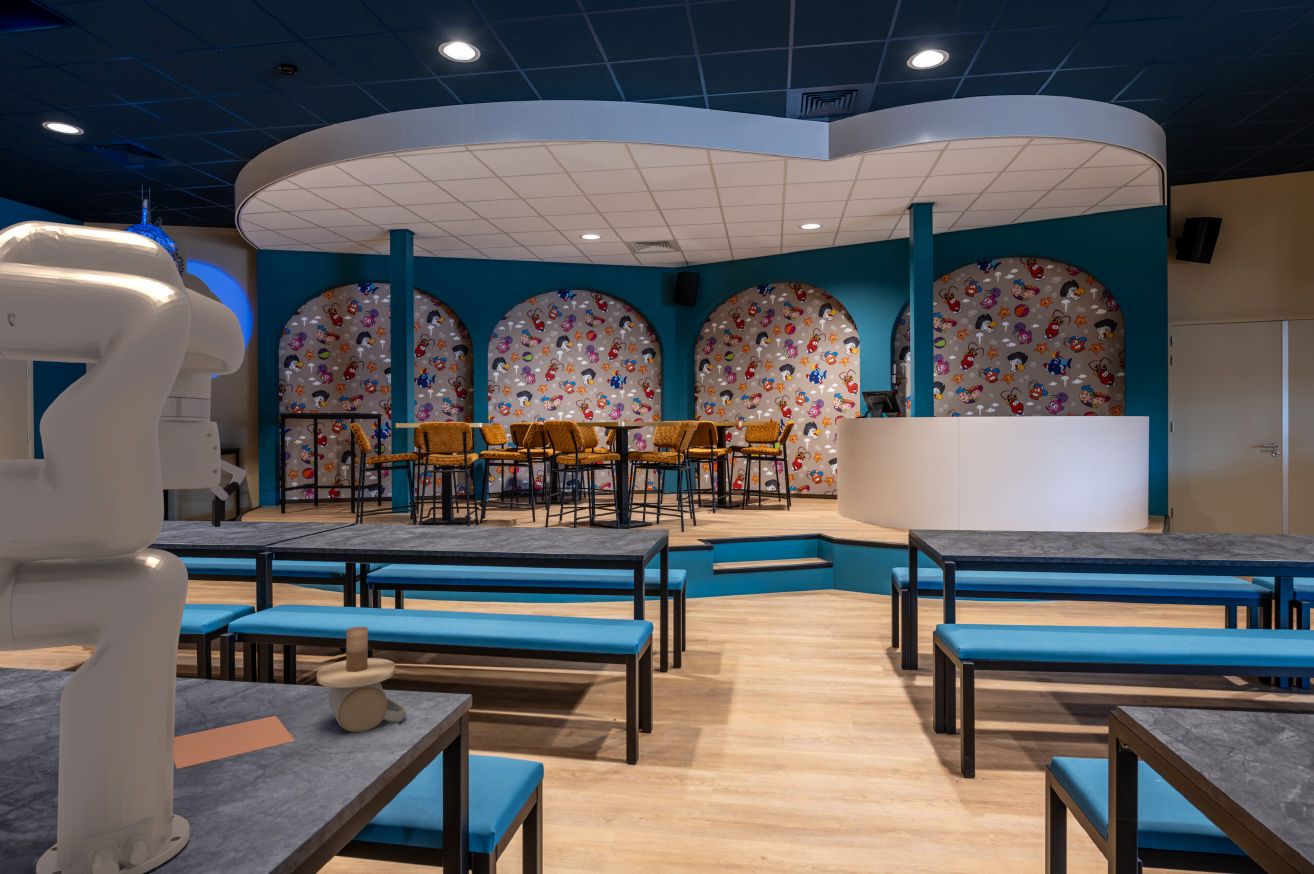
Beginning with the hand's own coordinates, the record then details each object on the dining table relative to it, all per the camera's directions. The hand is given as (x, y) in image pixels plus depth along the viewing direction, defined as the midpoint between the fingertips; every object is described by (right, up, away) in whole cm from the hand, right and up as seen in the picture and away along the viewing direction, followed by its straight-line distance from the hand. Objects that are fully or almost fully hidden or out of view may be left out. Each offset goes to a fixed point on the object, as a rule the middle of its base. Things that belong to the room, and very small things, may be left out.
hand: (177, 528), depth 103 cm
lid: (+24, -23, +5) cm, 34 cm away
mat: (+9, -30, -3) cm, 32 cm away
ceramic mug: (+26, -31, +5) cm, 41 cm away
